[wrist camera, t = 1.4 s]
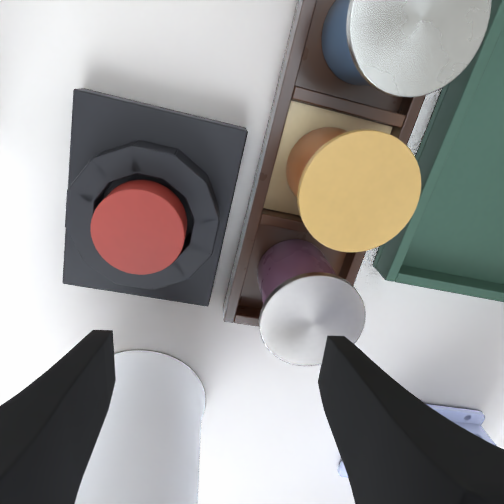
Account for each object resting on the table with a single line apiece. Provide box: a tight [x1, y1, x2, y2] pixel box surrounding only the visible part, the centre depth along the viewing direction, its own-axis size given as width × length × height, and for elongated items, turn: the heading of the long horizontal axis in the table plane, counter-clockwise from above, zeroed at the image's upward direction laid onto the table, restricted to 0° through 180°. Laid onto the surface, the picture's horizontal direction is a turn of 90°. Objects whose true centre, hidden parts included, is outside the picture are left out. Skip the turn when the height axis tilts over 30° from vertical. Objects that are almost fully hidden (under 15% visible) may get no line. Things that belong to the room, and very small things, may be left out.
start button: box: [91, 180, 187, 275], centre depth 17 cm, size 4×4×2 cm
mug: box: [75, 350, 206, 504], centre depth 21 cm, size 12×8×12 cm
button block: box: [63, 89, 248, 306], centre depth 19 cm, size 10×8×3 cm
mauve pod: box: [257, 239, 365, 366], centre depth 20 cm, size 5×5×5 cm
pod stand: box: [223, 0, 426, 326], centre depth 20 cm, size 7×20×2 cm, turn 166°
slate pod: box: [322, 0, 492, 97], centre depth 16 cm, size 5×5×5 cm
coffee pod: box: [286, 127, 421, 252], centre depth 18 cm, size 5×5×5 cm
